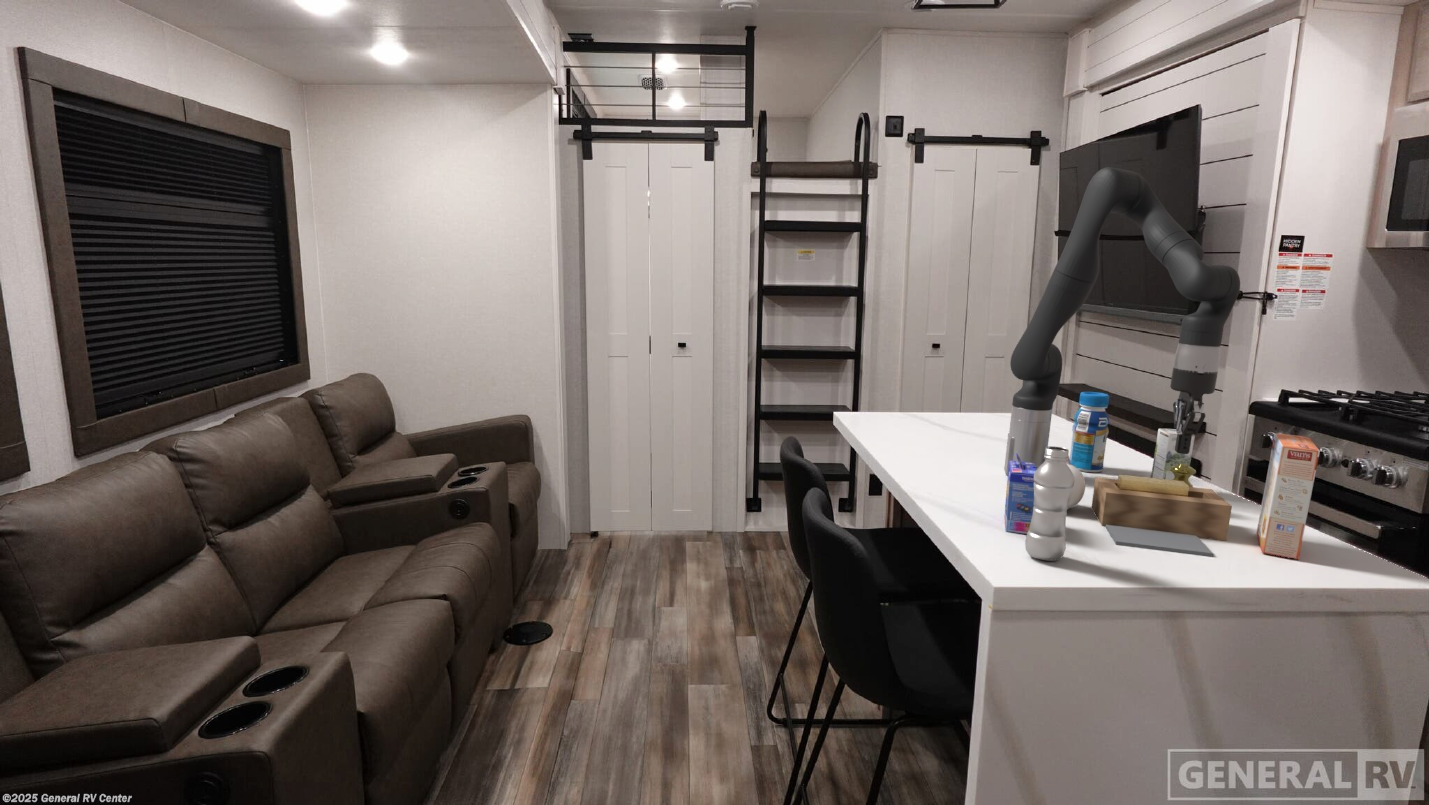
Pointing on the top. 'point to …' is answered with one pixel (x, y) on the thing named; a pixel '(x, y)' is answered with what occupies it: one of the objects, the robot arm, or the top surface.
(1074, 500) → the ornament
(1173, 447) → the syrup box
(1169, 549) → the slate mat
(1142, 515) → the pocket board
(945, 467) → the top surface
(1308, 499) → the cracker box
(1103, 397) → the beverage bottle
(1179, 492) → the pale yellow rectangular block
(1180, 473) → the gold spiky piece
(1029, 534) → the plastic bottle
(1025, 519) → the ink cartridge box
